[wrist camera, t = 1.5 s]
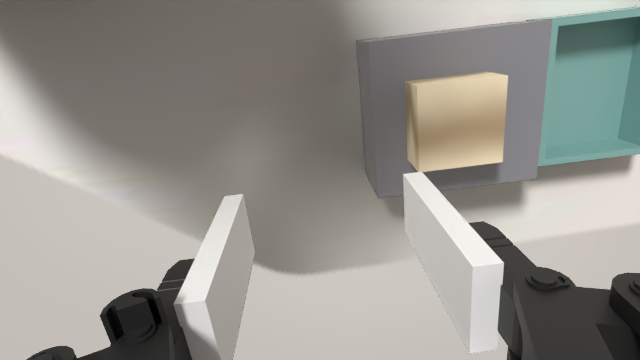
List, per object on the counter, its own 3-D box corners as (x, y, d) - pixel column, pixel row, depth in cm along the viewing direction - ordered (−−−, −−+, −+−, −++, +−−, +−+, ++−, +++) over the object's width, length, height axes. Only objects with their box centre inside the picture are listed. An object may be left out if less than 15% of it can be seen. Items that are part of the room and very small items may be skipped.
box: (525, 20, 32) (551, 18, 29) (642, 6, 32) (680, 2, 29) (515, 154, 36) (536, 166, 33) (618, 142, 36) (649, 152, 33)
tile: (405, 81, 28) (417, 86, 25) (486, 71, 28) (508, 75, 25) (407, 159, 30) (418, 172, 27) (483, 150, 30) (502, 162, 27)
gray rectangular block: (356, 40, 32) (368, 41, 26) (508, 22, 32) (552, 19, 26) (366, 173, 36) (378, 198, 31) (500, 156, 36) (536, 178, 31)
